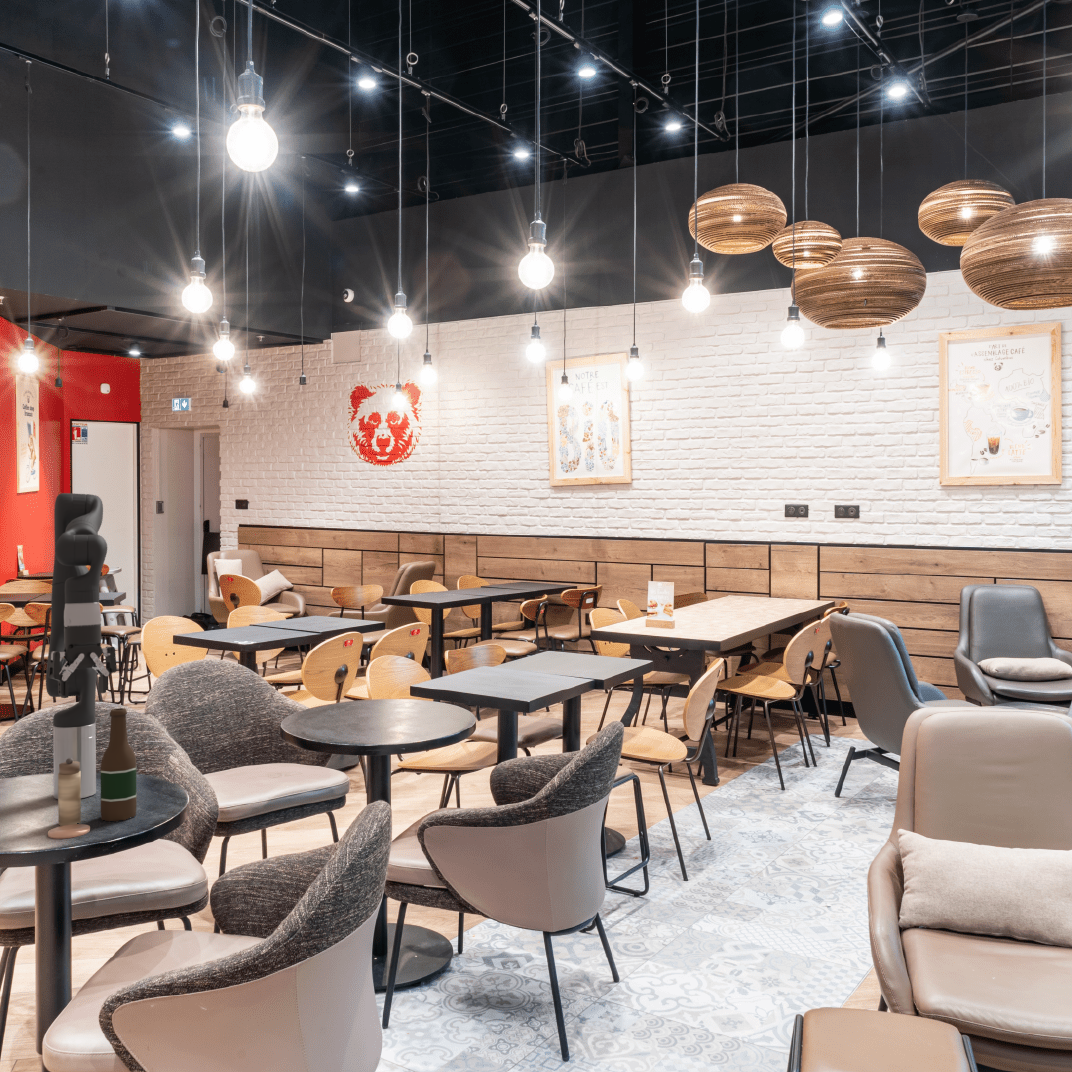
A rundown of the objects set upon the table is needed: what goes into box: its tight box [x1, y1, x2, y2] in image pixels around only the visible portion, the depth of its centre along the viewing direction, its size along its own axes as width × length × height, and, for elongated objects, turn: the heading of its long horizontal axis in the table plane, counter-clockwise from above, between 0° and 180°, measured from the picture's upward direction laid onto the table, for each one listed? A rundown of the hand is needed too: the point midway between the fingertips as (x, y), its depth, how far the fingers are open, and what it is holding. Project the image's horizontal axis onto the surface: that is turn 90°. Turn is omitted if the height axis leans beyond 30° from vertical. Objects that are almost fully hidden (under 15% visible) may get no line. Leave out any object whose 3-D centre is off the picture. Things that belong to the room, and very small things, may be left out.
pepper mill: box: [57, 758, 82, 827], centre depth 207 cm, size 4×4×14 cm
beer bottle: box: [100, 707, 138, 822], centre depth 211 cm, size 8×8×24 cm
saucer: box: [47, 823, 91, 840], centre depth 200 cm, size 8×8×1 cm
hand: (83, 695), depth 213 cm, fingers open, 8 cm apart
